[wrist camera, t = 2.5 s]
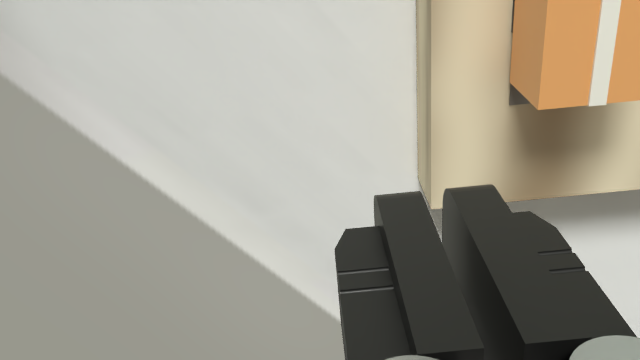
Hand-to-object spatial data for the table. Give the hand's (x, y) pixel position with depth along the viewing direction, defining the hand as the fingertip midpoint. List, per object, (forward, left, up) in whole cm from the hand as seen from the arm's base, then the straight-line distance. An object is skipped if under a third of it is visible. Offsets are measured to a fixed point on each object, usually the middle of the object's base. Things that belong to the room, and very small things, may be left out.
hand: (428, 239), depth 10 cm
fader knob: (+8, 0, -14) cm, 16 cm away
